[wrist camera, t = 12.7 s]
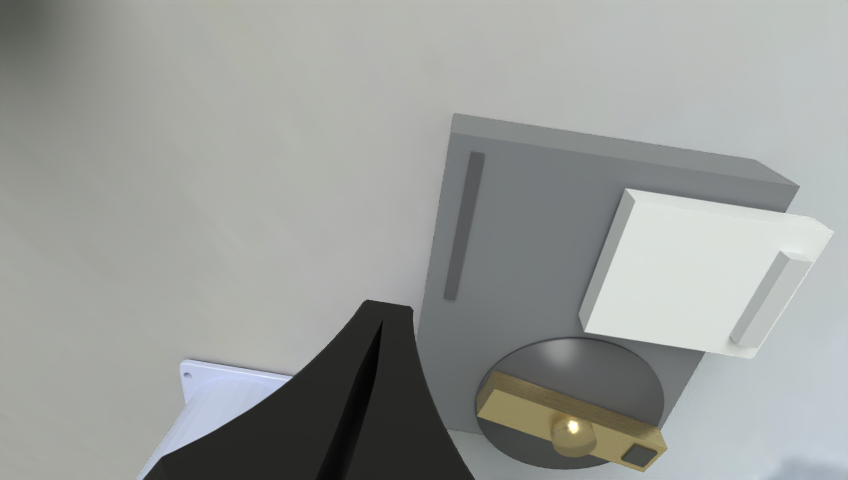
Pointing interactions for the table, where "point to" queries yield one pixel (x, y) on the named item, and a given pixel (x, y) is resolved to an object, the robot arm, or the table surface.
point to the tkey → (569, 422)
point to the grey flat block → (553, 271)
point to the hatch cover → (698, 272)
